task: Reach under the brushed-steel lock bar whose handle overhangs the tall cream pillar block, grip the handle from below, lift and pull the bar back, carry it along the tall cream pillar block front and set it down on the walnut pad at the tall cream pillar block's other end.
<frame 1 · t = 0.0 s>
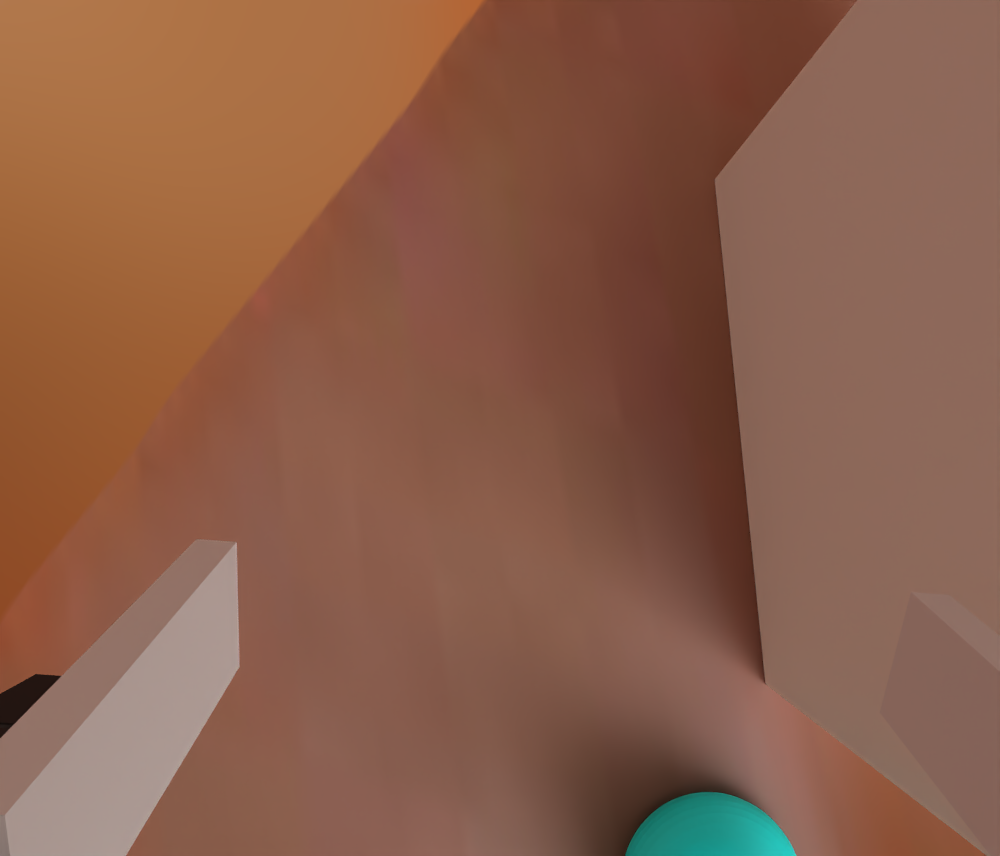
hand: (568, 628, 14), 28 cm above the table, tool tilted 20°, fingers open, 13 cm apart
tall cream pillar block: (855, 417, 43), on the table
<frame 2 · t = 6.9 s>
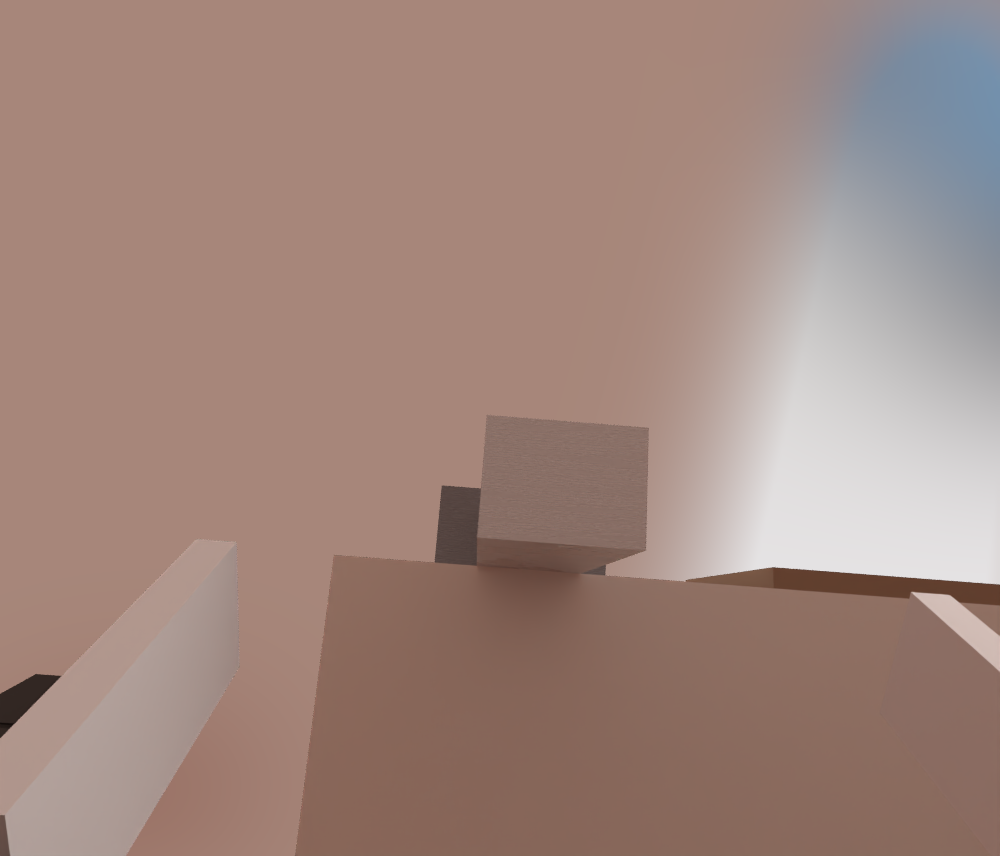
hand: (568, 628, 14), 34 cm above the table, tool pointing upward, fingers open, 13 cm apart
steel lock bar: (528, 569, 28), point 36 cm above the table, touching tall cream pillar block
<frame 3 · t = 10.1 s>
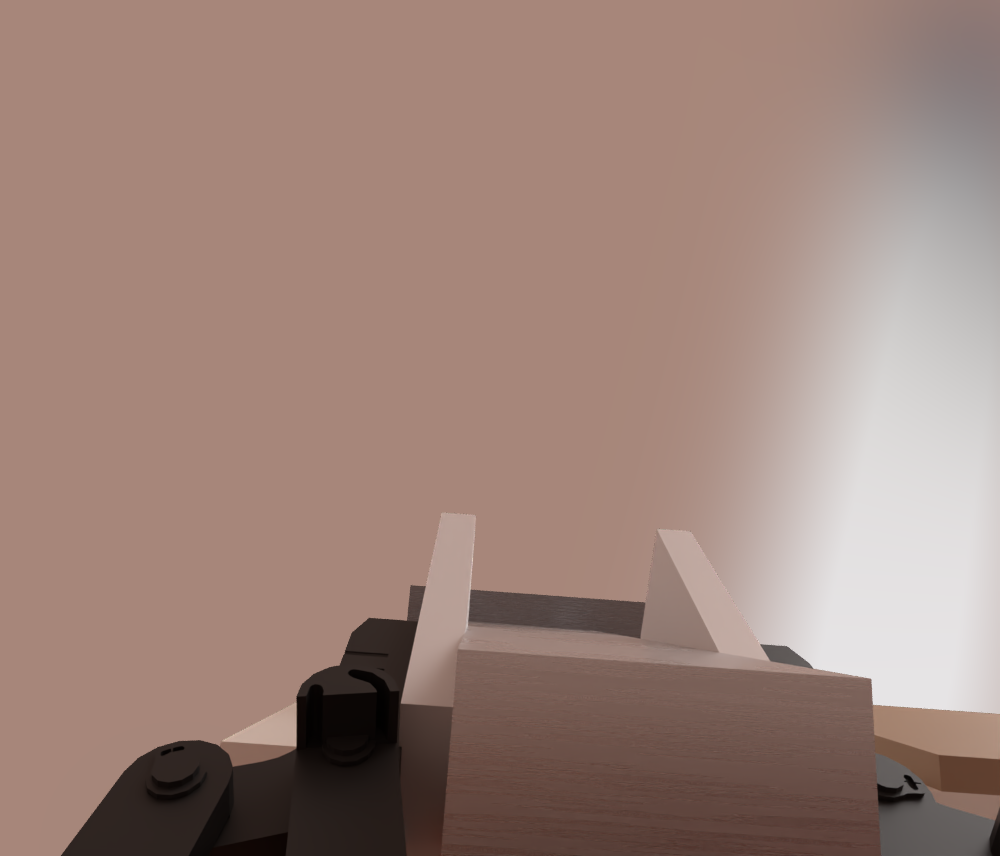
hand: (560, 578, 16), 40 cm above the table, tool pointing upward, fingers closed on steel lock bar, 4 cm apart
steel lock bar: (541, 763, 17), point 36 cm above the table, touching gripper, tall cream pillar block
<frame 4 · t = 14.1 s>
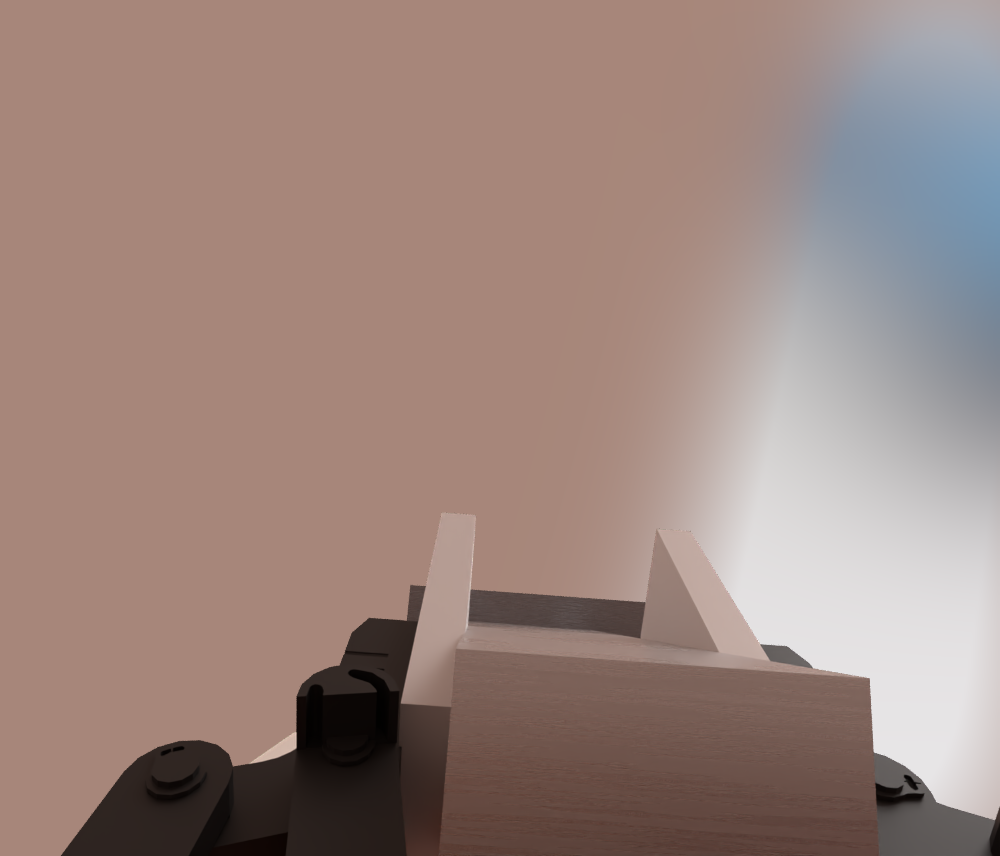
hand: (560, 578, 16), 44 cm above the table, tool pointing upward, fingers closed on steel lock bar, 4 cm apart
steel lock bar: (541, 763, 17), point 40 cm above the table, touching gripper
when the fingers open (43 cm above the table, at t = 18.4 s): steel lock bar drops 2 cm, resting on tall cream pillar block.
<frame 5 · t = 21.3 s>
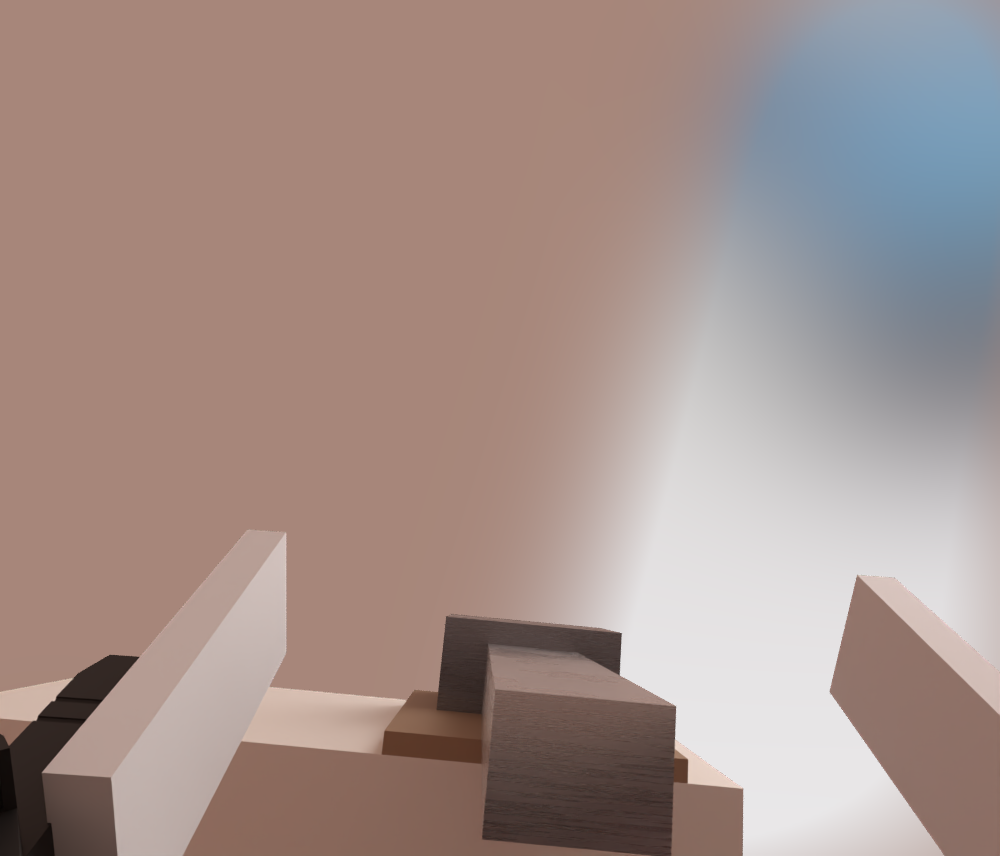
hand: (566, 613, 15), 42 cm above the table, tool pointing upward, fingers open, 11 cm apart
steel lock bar: (536, 745, 26), point 37 cm above the table, touching tall cream pillar block
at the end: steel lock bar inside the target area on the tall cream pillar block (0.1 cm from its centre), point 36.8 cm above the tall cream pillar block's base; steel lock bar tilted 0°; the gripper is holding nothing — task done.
